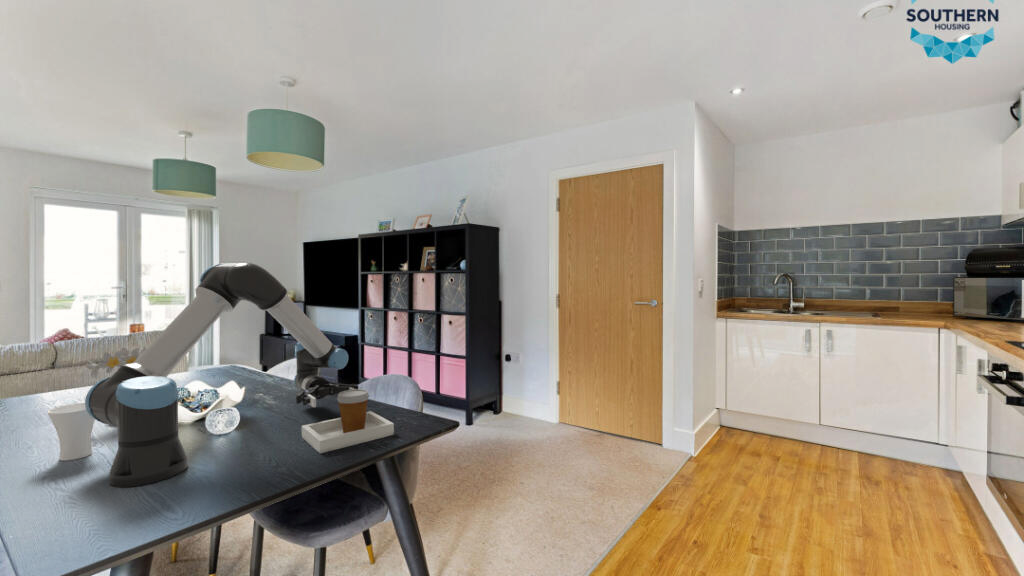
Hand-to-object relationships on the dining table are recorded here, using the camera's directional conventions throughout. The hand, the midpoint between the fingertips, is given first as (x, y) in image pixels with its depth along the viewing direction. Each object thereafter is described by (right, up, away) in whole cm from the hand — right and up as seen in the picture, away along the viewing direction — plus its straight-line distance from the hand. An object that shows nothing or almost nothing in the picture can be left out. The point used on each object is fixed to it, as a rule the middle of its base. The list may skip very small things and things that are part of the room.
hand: (336, 398), depth 143 cm
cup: (-64, -11, -21) cm, 68 cm away
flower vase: (-77, -10, +10) cm, 78 cm away
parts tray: (+6, -10, -7) cm, 13 cm away
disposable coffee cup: (+7, -9, -5) cm, 12 cm away
